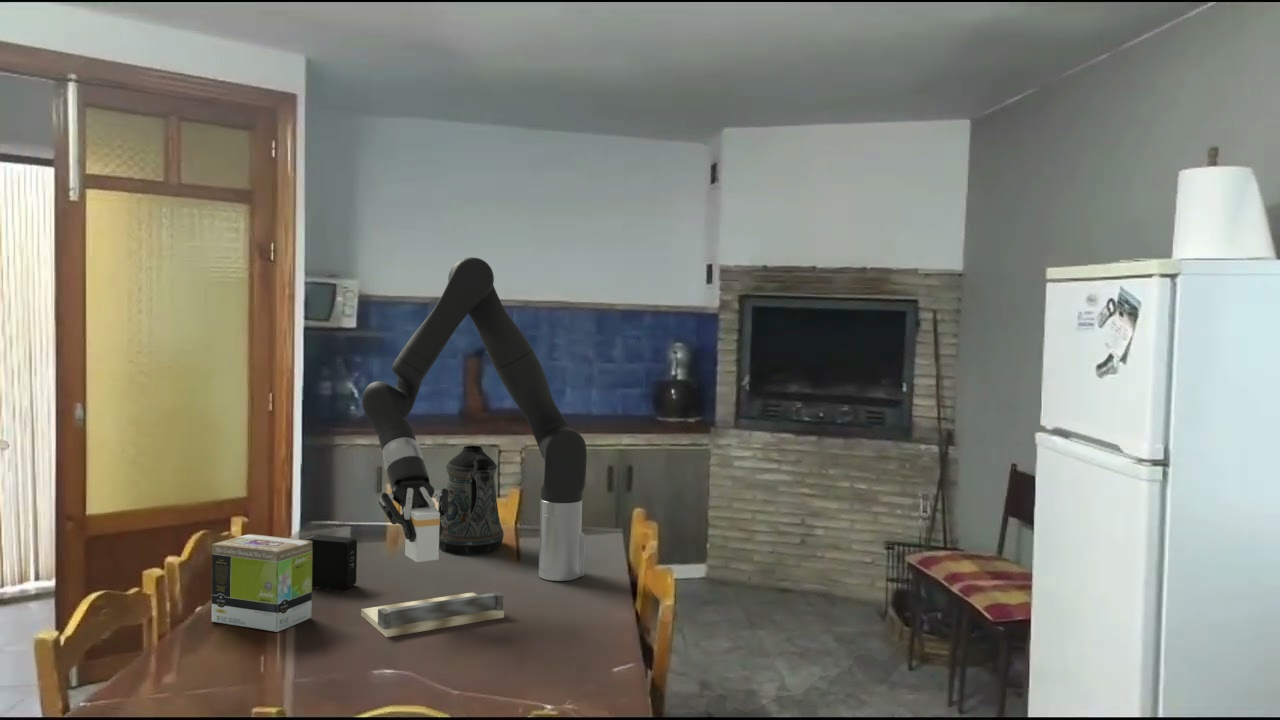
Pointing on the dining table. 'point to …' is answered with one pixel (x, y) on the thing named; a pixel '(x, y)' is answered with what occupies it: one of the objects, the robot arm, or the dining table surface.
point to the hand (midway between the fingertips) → (426, 538)
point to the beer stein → (471, 505)
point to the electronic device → (333, 561)
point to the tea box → (262, 582)
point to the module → (424, 535)
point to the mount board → (428, 624)
